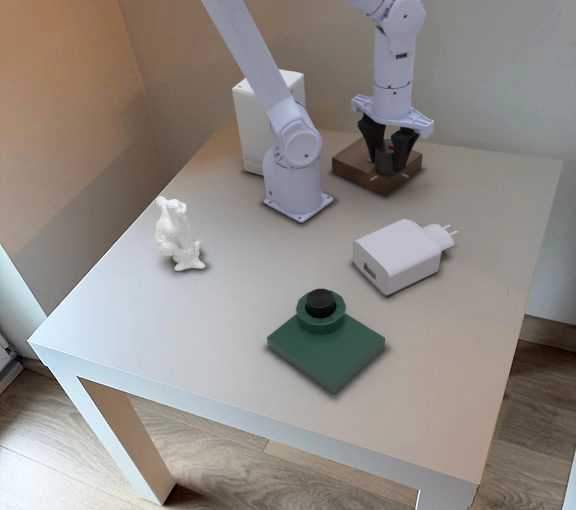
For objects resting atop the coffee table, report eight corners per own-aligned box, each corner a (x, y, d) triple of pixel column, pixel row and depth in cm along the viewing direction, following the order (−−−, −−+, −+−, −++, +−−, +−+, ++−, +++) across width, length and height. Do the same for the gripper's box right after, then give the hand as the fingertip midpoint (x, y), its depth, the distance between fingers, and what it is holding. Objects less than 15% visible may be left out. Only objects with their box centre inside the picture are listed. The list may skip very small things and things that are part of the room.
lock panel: (327, 176, 96) (326, 159, 93) (368, 147, 100) (368, 131, 98) (390, 205, 89) (391, 188, 87) (432, 174, 93) (434, 157, 91)
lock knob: (369, 169, 91) (369, 145, 87) (385, 158, 92) (387, 133, 89) (389, 178, 88) (391, 154, 85) (406, 166, 90) (408, 142, 87)
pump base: (267, 347, 73) (263, 327, 70) (320, 303, 77) (319, 282, 74) (334, 395, 68) (333, 376, 64) (388, 345, 71) (390, 325, 68)
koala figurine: (218, 266, 84) (201, 199, 75) (181, 285, 82) (158, 220, 73) (193, 239, 89) (174, 174, 79) (157, 257, 87) (133, 192, 77)
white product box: (285, 183, 96) (275, 97, 84) (244, 171, 99) (229, 88, 87) (310, 157, 100) (305, 72, 88) (270, 146, 104) (260, 63, 92)
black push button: (301, 310, 72) (300, 299, 70) (320, 295, 73) (319, 284, 72) (321, 322, 70) (320, 312, 69) (340, 307, 72) (339, 296, 70)
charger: (471, 258, 80) (387, 298, 77) (432, 226, 85) (352, 263, 82) (477, 232, 76) (389, 273, 73) (436, 200, 81) (352, 237, 78)
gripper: (450, 81, 77) (438, 168, 88) (372, 57, 84) (370, 140, 95) (420, 102, 74) (412, 188, 85) (341, 75, 81) (343, 158, 92)
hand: (388, 164), depth 90 cm, fingers closed on lock knob, 4 cm apart
